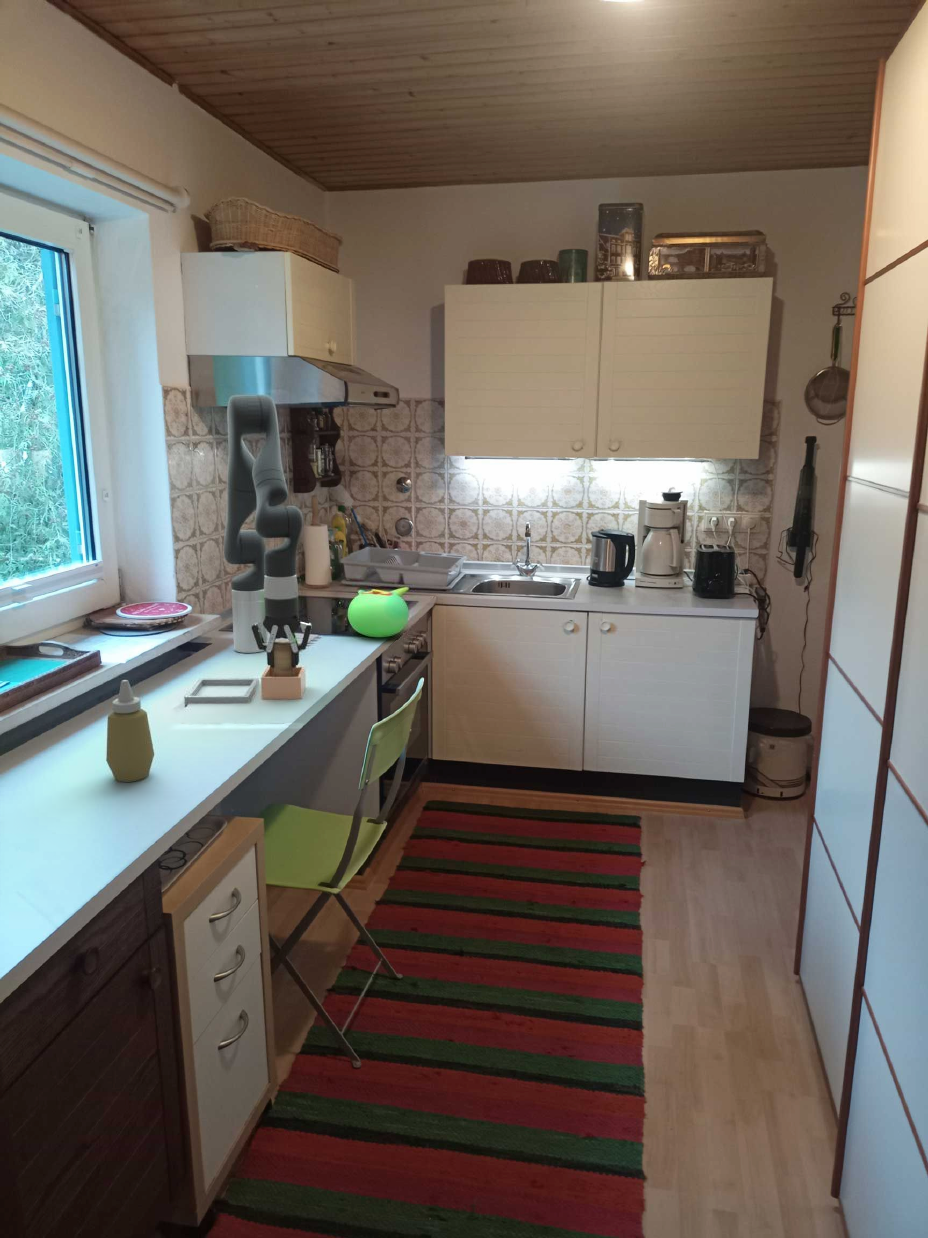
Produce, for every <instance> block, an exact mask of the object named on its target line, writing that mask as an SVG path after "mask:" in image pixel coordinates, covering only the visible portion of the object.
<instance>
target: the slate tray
mask: <svg viewBox="0 0 928 1238" xmlns="http://www.w3.org/2000/svg"><path fill="white" fill-rule="evenodd" d="M259 684H260V679H259V678H258V677H257V678H253V677H251V678H247V677H245V678H241V677H238V678H237V677H236V678H235V677H234V678H221V677H219V678H212V677H211V678H198V679H197V680H196V681H195V683H194V684H193V686H192V687H191V688H190V689H189V690H188V691H187V693H186V694H185V696H184V708H187V707H188V705H189V704H223V703H224V704H233V703H234V704H237V703H238V704H239V703H240V704H241V703H242V704H246V703H247V704H248V703H250V701H251V699H252V697H253V695H254V693H255V691H256V690H257V688H258V686H259ZM203 686H249V687H248V689H247V691H246V692H245V693H244V695H196V694H197V693H198V692H199V691H200V689H201V688H202V687H203Z"/></svg>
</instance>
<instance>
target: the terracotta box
mask: <svg viewBox="0 0 928 1238" xmlns="http://www.w3.org/2000/svg"><path fill="white" fill-rule="evenodd" d="M293 669H294V677H274V668H270V666H266V668H265V669H264V671H263V674H262V675H261V677H260V686H261V687H260V688H261V689H260V690H261V700H302V698H303V696H304V693H305V690H306V688H307V687H306V686H307V684H306V683H307V682H306V679H307V678H306V666H296V668H293Z"/></svg>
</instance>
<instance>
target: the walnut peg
mask: <svg viewBox="0 0 928 1238" xmlns="http://www.w3.org/2000/svg"><path fill="white" fill-rule="evenodd" d="M292 652H293V650H292V647H291V644H290V643H289V640H288V639H284V640H283V639H282V640H275V642H274V644H273V665H274V677H294V669H293V667H292Z"/></svg>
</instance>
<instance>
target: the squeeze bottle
mask: <svg viewBox="0 0 928 1238" xmlns="http://www.w3.org/2000/svg"><path fill="white" fill-rule="evenodd" d="M111 704H112V705H111V706H112V711H111V712H110V713H109V714H108V716H107V729H106V730H107V731H106V756H105V757H106V759H105V761H106V763H107V765H108V767H109V770H110V771H111V774H112V776H113V778H114V779H115V780H116V781H119V782H121V783H122V782H126V783H128V782H129V783H131V782H136V781H141V780H143V779H145V778H147V777H148V776H149V774H150V771H151V767H152V764H153V760H154V757H155V751H154V744H153V740H152V734H151V728H150V724H149V718H148V712H146V710H144V709H143V708H142V704H141V698H140V697H137V696H134V694H133V691H132V688H131V685H130V682H129V680H127V679H123V680H121V681H120V687H119V693H118V698H116V699H113V701H112V702H111Z"/></svg>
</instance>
